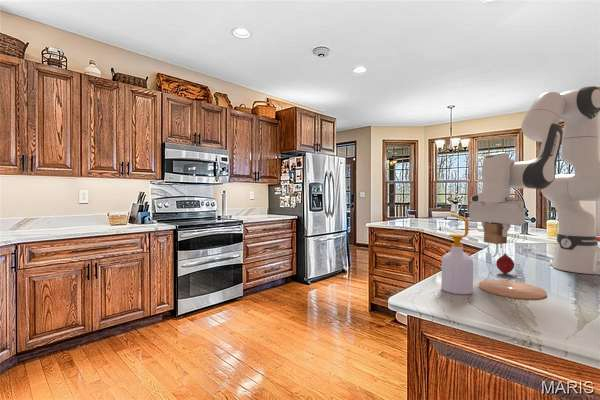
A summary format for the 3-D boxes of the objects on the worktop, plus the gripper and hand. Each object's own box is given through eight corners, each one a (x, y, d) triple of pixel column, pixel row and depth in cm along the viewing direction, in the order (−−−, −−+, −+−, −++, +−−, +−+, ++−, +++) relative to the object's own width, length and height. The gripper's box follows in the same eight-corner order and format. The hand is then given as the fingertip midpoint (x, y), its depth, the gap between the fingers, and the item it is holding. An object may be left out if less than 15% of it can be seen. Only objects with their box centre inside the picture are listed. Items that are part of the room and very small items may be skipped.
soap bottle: (444, 284, 108) (444, 212, 108) (474, 289, 103) (475, 213, 102) (438, 291, 101) (439, 214, 100) (470, 297, 95) (471, 215, 95)
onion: (517, 275, 120) (518, 254, 119) (502, 275, 120) (502, 254, 120) (507, 272, 125) (508, 251, 125) (493, 272, 126) (493, 251, 125)
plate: (506, 280, 113) (506, 277, 113) (561, 295, 96) (561, 292, 96) (466, 284, 108) (466, 282, 108) (517, 302, 91) (517, 298, 91)
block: (494, 241, 119) (494, 222, 118) (506, 243, 114) (506, 223, 114) (484, 242, 117) (484, 223, 117) (496, 244, 112) (496, 224, 112)
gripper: (530, 197, 106) (530, 238, 107) (478, 196, 126) (478, 231, 126) (516, 197, 104) (516, 239, 105) (466, 197, 124) (466, 232, 124)
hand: (495, 235), depth 115 cm, fingers closed on block, 5 cm apart
